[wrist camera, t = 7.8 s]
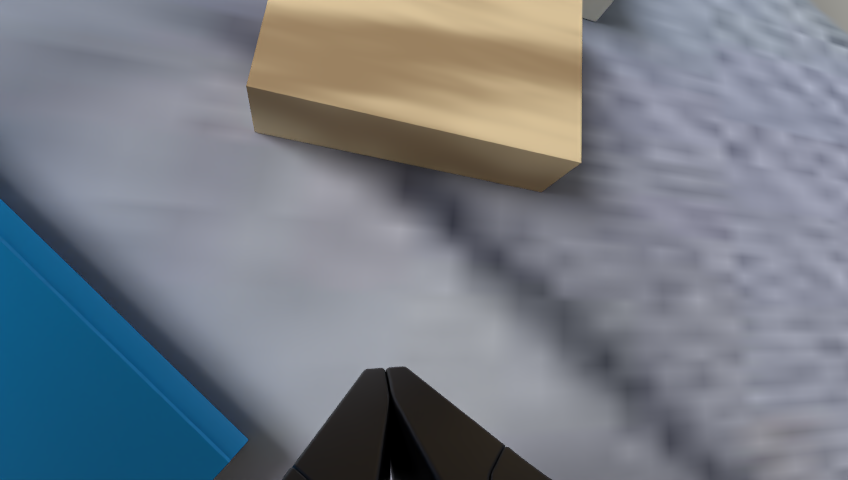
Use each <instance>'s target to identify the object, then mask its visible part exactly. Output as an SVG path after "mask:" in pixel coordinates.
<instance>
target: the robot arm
mask: <svg viewBox="0 0 848 480" xmlns="http://www.w3.org/2000/svg"><path fill="white" fill-rule="evenodd" d="M391 475H392V480H552V479H550V478H549V477H547V476H546V475H544V474H543V473H542V472H540V471H539V470H537V469H536V468H535V467H533V466H532V465H531V464H529V463H528V462H527V461H525V460H524V459H523V458H521V457H520V456H519V455H518V454H516V453H515V452H514V451H513V450H511V449H510V448H509V447H505V445H504V444H503V443H501V442H500V441H499V440H498V439H496V438H495V437H494V436H492V435H491V434H490V433H489V432H487V431H486V430H485V429H484V428H482V427H481V426H480V425H479V424H477V423H476V422H475V421H474V420H472V419H471V418H470V417H469V416H467V415H466V414H465V413H463V412H462V411H461V410H460V409H458V408H457V407H456V406H455V405H453V404H452V403H451V402H450V401H448V400H447V399H446V398H445V397H443V396H442V395H441V394H440V393H438V392H437V391H436V390H434V389H433V388H432V387H431V386H429V385H428V384H427V383H426V382H424V381H423V380H422V379H421V378H419V377H418V376H417V375H416V374H414V373H413V372H412V371H410V370H409V369H408V368H406V367H389V368H387V369H386V372H385V370H384V369H383V368H375V369H366V370H364V371H363V373H362V374H361V375H360V377H359V378H358V379H357V381H356V382H355V383H354V385H353V386H352V387H351V389H350V390H349V391H348V393H347V394H346V395H345V397H344V398H343V399H342V401H341V402H340V403H339V405H338V406H337V408H336V409H335V410H334V412H333V413H332V414H331V416H330V417H329V418H328V420H327V421H326V422H325V424H324V425H323V426H322V428H321V429H320V430H319V432H318V433H317V434H316V436H315V437H314V438H313V440H312V441H311V442H310V444H309V445H308V446H307V448H306V449H305V450H304V452H303V453H302V454H301V456H300V457H299V458H298V460H297V461H296V462H295V464H294V465H293V467H292V468H290V469H289V471H288V472H287V473H286V475H285V476H284V477H283V479H282V480H390V476H391Z"/></svg>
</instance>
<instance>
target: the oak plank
mask: <svg viewBox="0 0 848 480" xmlns="http://www.w3.org/2000/svg"><path fill="white" fill-rule="evenodd" d="M246 87H247V92H248V98H249V103H250V109H251V114H252V120H253V125H254V131H255V132H257V133H262V134H267V135H271V136H276V137H281V138H286V139H290V140H295V141H300V142H305V143H309V144H314V145H319V146H324V147H329V148H333V149H338V150H343V151H348V152H352V153H357V154H362V155H367V156H371V157H376V158H381V159H386V160H390V161H395V162H400V163H405V164H409V165H414V166H419V167H424V168H429V169H433V170H438V171H443V172H448V173H452V174H457V175H462V176H467V177H471V178H476V179H481V180H486V181H490V182H495V183H500V184H505V185H509V186H514V187H519V188H524V189H529V190H533V191H538V192H542V191H544V190H545V189H546V188H548V187H549V186H550V185H552V184H553V183H555V182H556V181H557V180H559V179H560V178H561V177H563V176H564V175H565V174H567V173H568V172H569V171H571V170H572V169H574V168H575V167H576V166H578V165H579V164H580V163H581V125H582V0H268V2H267V6H266V10H265V14H264V18H263V22H262V26H261V30H260V34H259V38H258V42H257V46H256V50H255V54H254V58H253V62H252V66H251V69H250V73H249V77H248V81H247V85H246Z"/></svg>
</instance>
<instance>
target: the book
mask: <svg viewBox="0 0 848 480" xmlns="http://www.w3.org/2000/svg"><path fill="white" fill-rule="evenodd" d="M247 441H248V439H247V438H246V437H245V436H244V435H243V434H242V433H241V432H240V431H239V430H238V429H237V428H236V427H235V426H234V425H233V424H232V423H231V422H230V421H229V420H228V419H227V418H226V417H225V416H224V415H223V414H222V413H221V412H220V411H219V410H218V409H216V408H215V407H214V406H213V405H212V404H211V403H210V402H209V401H208V400H207V399H206V398H205V397H204V396H203V395H202V394H201V393H200V392H199V391H198V390H197V389H196V388H195V387H194V386H193V385H192V384H191V383H190V382H189V381H188V380H187V379H186V378H185V377H184V376H183V375H181V374H180V373H179V372H178V371H177V370H176V369H175V368H174V367H173V366H172V365H171V364H170V363H169V362H168V361H167V360H166V359H165V358H164V357H163V356H162V355H161V354H160V353H159V352H158V351H157V350H156V349H155V348H154V347H153V346H152V345H151V344H150V343H149V342H147V341H146V340H145V339H144V338H143V337H142V336H141V335H140V334H139V333H138V332H137V331H136V330H135V329H134V328H133V327H132V326H131V325H130V324H129V323H128V322H127V321H126V320H125V319H124V318H123V317H122V316H121V315H120V314H119V313H118V312H117V311H116V310H115V309H113V308H112V307H111V306H110V305H109V304H108V303H107V302H106V301H105V300H104V299H103V298H102V297H101V296H100V295H99V294H98V293H97V292H96V291H95V290H94V289H93V288H92V287H91V286H90V285H89V284H88V283H87V282H86V281H85V280H84V279H83V278H82V277H81V276H80V275H78V274H77V273H76V272H75V271H74V270H73V269H72V268H71V267H70V266H69V265H68V264H67V263H66V262H65V261H64V260H63V259H62V258H61V257H60V256H59V255H58V254H57V253H56V252H55V251H54V250H53V249H52V248H51V247H50V246H49V245H48V244H47V243H46V242H44V241H43V240H42V239H41V238H40V237H39V236H38V235H37V234H36V233H35V232H34V231H33V230H32V229H31V228H30V227H29V226H28V225H27V224H26V223H25V222H24V221H23V220H22V219H21V218H20V217H19V216H18V215H17V214H16V213H15V212H14V211H13V210H12V209H10V208H9V207H8V206H7V205H6V204H5V203H4V202H3V201H2V200H1V199H0V480H213V479H214V478H215V477H216V476H217V475H218V474H219V473H220V472H221V471H222V469H223V468H224V467H225V466H226V465H227V464H228V463H229V462H230V461H231V459H232V458H233V457H234V456H235V455H236V454H237V453H238V452H239V451H240V449H241V448H242V447H243V446H244V445H245V444H246V442H247Z"/></svg>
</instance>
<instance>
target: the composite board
mask: <svg viewBox="0 0 848 480" xmlns="http://www.w3.org/2000/svg"><path fill="white" fill-rule="evenodd" d="M613 1H614V0H582V18H585V19H588V20H591V21H594V22H596V21H597V20H598V19H599V18H600V16H601V15H602V14H603V13H604V12H605V11H606V9H607V8H608V7H609V6H610V5H611V4H612V2H613Z"/></svg>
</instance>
